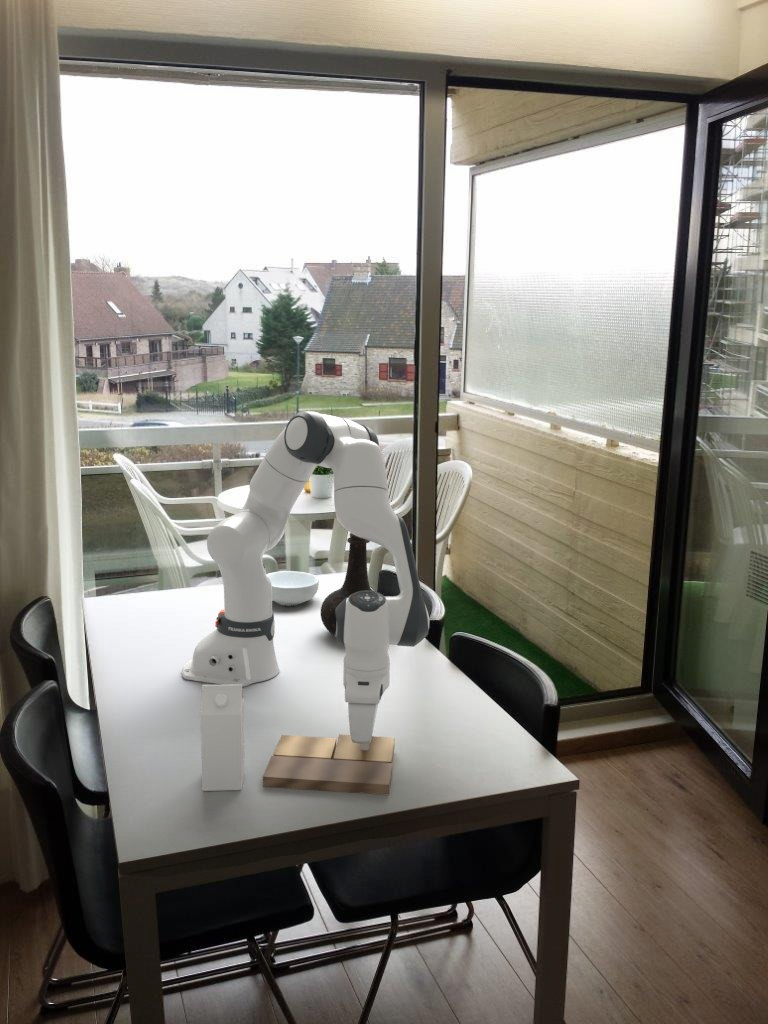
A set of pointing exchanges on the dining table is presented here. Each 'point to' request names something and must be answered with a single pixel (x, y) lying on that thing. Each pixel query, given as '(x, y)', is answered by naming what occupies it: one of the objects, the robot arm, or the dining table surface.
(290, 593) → the cereal bowl
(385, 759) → the plank
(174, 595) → the dining table surface
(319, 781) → the base board
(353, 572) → the dark brown round bottle
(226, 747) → the milk carton
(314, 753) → the plank
